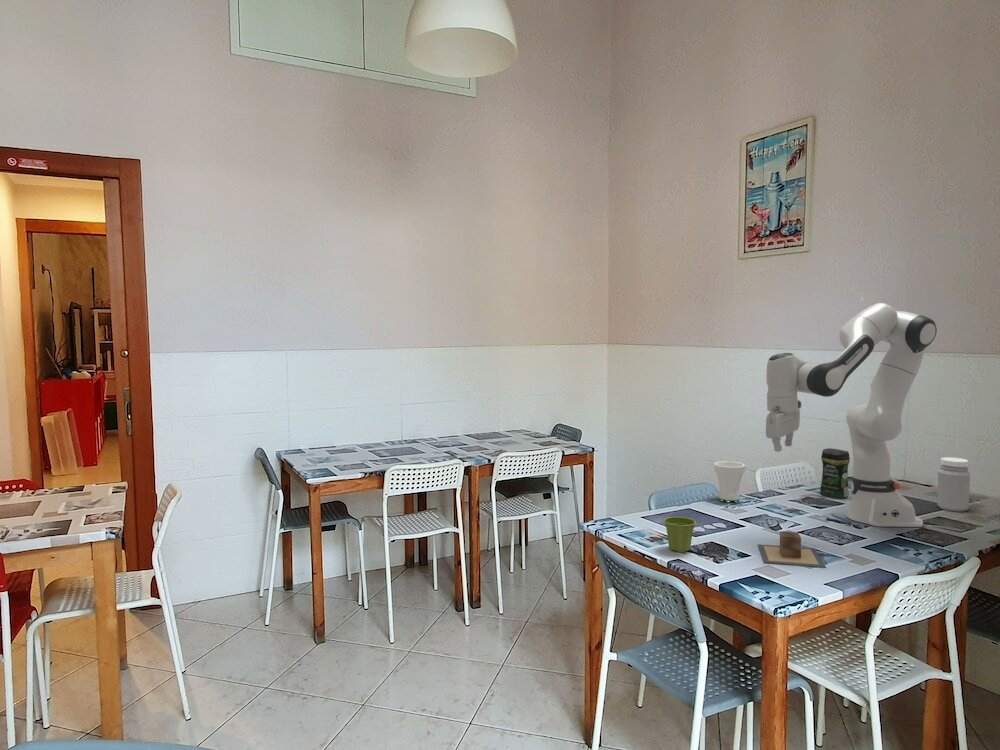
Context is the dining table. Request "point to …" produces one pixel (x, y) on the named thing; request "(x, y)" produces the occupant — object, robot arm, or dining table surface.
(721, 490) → the cup
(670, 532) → the plant pot
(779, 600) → the dining table surface
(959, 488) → the jar
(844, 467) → the coffee jar
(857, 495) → the robot arm
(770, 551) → the coaster mat
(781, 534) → the walnut block
